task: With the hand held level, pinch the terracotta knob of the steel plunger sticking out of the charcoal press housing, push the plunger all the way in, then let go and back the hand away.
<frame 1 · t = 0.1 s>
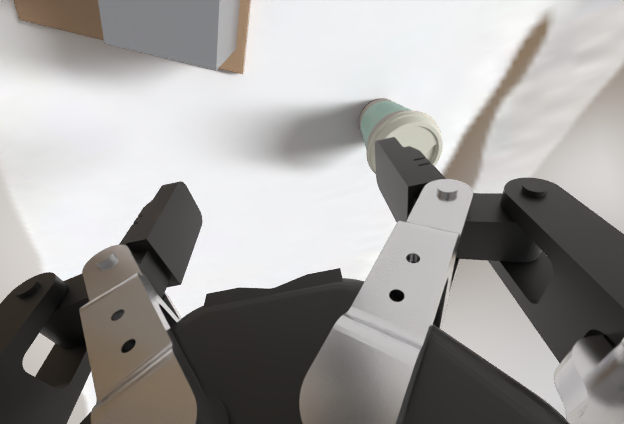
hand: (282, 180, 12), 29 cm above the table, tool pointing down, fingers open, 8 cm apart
coffee cup: (378, 118, 41), on the table
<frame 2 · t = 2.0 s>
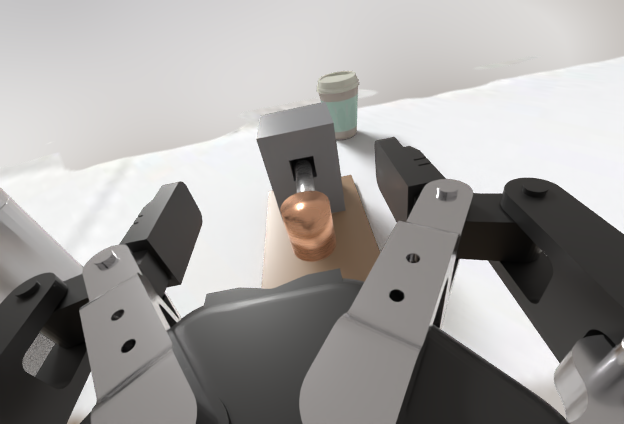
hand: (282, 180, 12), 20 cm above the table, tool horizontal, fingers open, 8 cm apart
coffee cup: (343, 134, 63), on the table
press housing: (315, 222, 41), on the table
plunger: (306, 197, 30), point 9 cm above the table, slide at 6.0 cm
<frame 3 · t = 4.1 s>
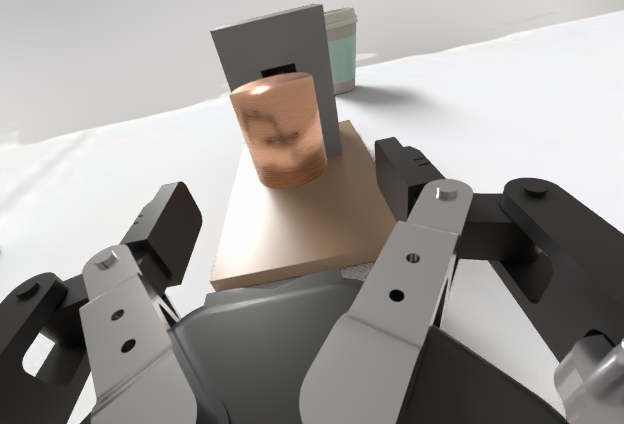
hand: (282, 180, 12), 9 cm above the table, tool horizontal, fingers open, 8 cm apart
coffee cup: (339, 90, 53), on the table
press housing: (302, 172, 30), on the table
plunger: (282, 106, 20), point 9 cm above the table, slide at 6.0 cm
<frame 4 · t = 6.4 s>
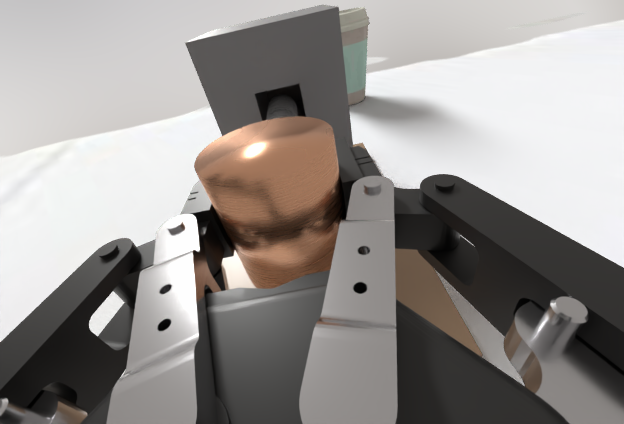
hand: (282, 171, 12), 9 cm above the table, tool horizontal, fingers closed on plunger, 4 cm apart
coffee cup: (347, 101, 47), on the table
press housing: (307, 214, 25), on the table
plunger: (282, 151, 14), point 9 cm above the table, slide at 6.0 cm, touching gripper
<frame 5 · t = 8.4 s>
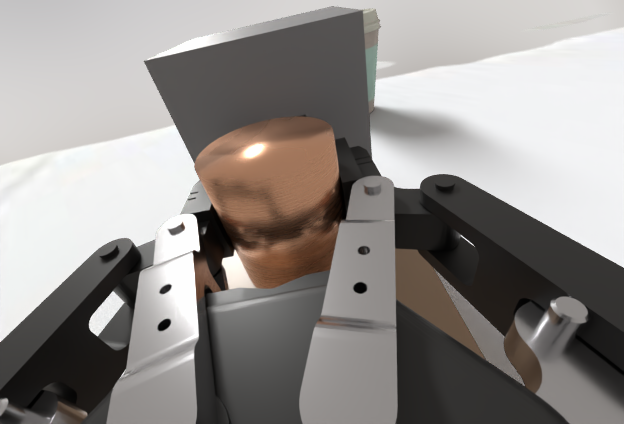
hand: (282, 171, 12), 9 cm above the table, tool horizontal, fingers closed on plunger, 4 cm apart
coffee cup: (353, 112, 42), on the table
press housing: (314, 266, 20), on the table
plunger: (282, 151, 14), point 9 cm above the table, slide at -0.1 cm, touching gripper
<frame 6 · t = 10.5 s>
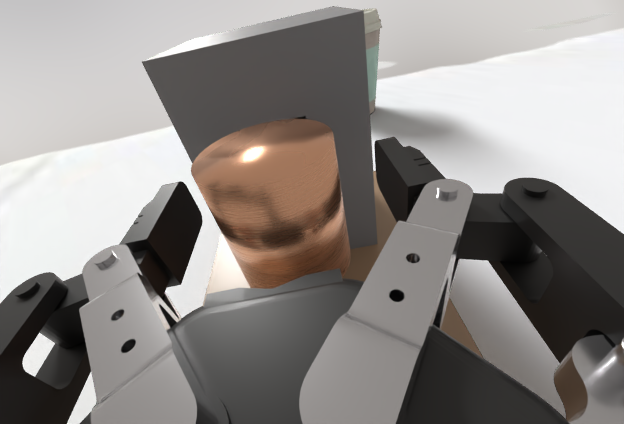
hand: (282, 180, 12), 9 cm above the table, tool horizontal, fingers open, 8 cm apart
coffee cup: (354, 113, 42), on the table
press housing: (314, 268, 20), on the table
plunger: (282, 153, 14), point 9 cm above the table, slide at 0.0 cm
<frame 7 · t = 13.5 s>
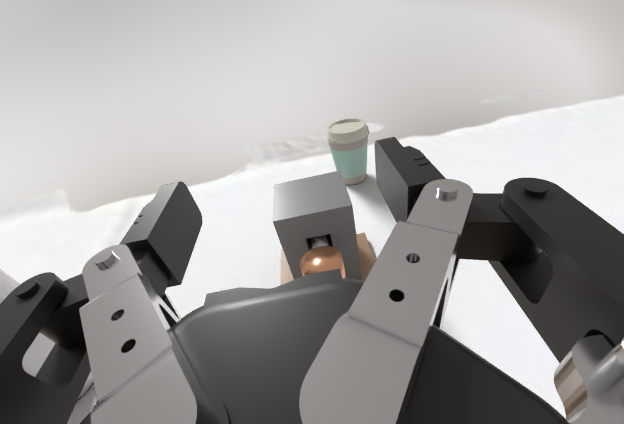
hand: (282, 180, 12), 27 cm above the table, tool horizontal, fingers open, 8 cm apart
coffee cup: (352, 178, 62), on the table
press housing: (331, 290, 40), on the table
plunger: (320, 246, 34), point 9 cm above the table, slide at 0.0 cm
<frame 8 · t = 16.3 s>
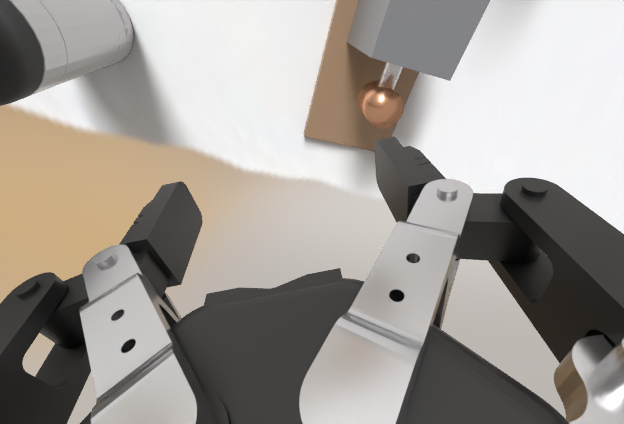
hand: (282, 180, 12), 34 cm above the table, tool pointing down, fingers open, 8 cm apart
press housing: (375, 49, 40), on the table
plunger: (394, 63, 33), point 9 cm above the table, slide at 0.0 cm
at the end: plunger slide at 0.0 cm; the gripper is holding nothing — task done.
